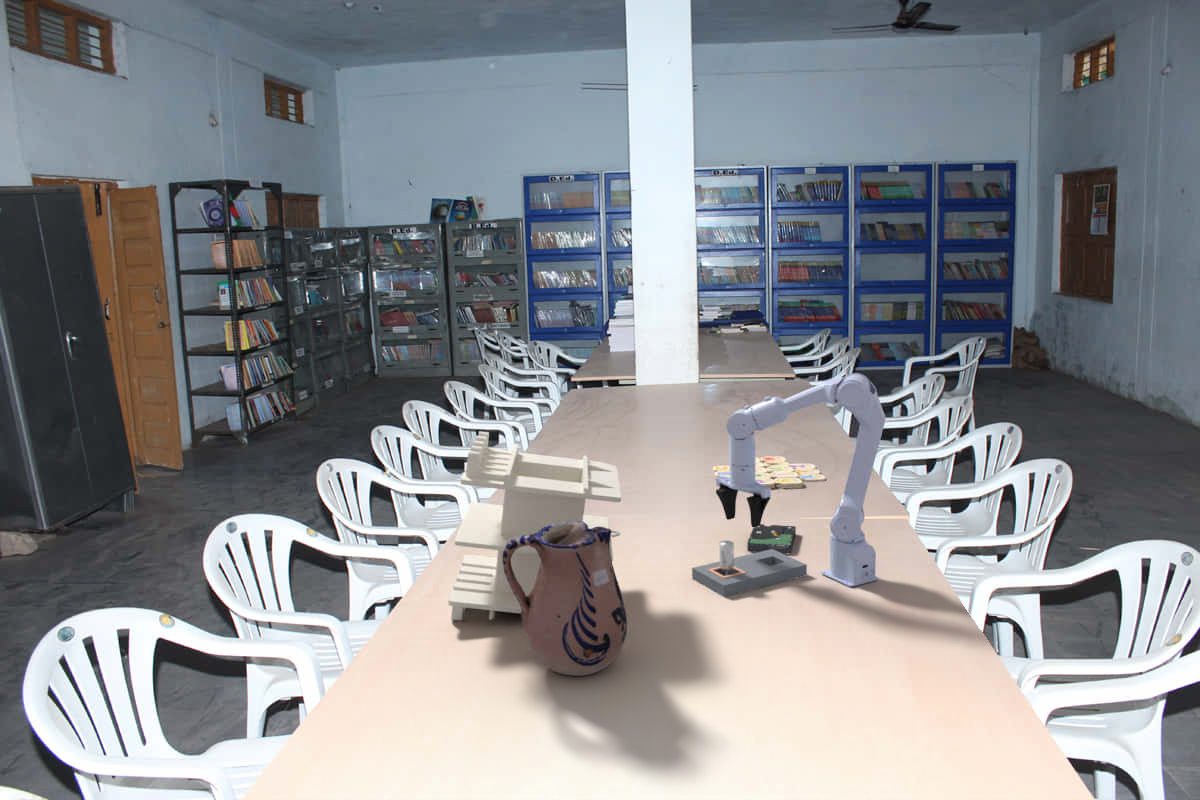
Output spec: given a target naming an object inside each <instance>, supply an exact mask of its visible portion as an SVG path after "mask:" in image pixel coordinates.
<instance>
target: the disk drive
mask: <svg viewBox="0 0 1200 800" xmlns="http://www.w3.org/2000/svg"><path fill="white" fill-rule="evenodd" d="M796 527H797V526H795V525H780V524H772V525H765V524H763V523H762V524H761V523H760V526H757V527H752V530H751V532H750V535H749V538H748V540H747V543H746V544H747V546H746V547H747V549H746V550H748V551H756V552H755V553H757V551H759V552H762V551H766V550H770V549H773V550H776V551H778V552H780V553H789V554H788V555H791V554H792V551H791V550H793V546H794V543H793V542H795V538H796V535H795V534H796ZM748 551H747V552H748ZM790 553H791V554H790Z"/></svg>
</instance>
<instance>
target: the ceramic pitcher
mask: <svg viewBox="0 0 1200 800" xmlns="http://www.w3.org/2000/svg"><path fill="white" fill-rule="evenodd" d="M612 531H613V530H611V528H610V529H609V528H605V527H594V528H592V529H588V525H587V524H586V523H585V522H583V521H566V522H562V523H556V524H550V525H548V526H545V527H543V528H541V529H540V530H539V531H538V532H537V533H535V534H531V535H528V534H526V535H521V536H517V537H515V538H514V539H512V540H510V541H509V542H508V543H507V545H506V547H505V549H504V551H503V555H502V557H503V568H504V572H505V575H506V578H507V580H508V582H509V584H510V586H511V589H512V591H513V592H514V595H515V596H516V598H517V600H518V602H519V604H520V606H521V613H520V615H521V616H520V621H521V625H522V626H523V628H524V629H525V631H526V632H527V636H528V637H527V638H528V640H529V643H530V646H531V648H532V650H533V652H534V654H535V656H536V657H537V658H538V660H539V661H540V662H541V663H542V664H543V665H544V666H545V667H547V668H548V669H550V670H552V672H553V671H554V672H555V673H556V672H557V673H558V674H562V675H565V676H566V675H567V676H573V677H575V676H576V677H582V676H589V675H592V674H596V673H597V672H600V671H602V670H603V669H605V668H606V667H607V666H609V665H610V664H612V662H614V661H615V660H616V658H617V656H618V655H619V653H620V652H621V650H622V649H623V646H624V644H625V641H626V638H627V631H628V622H627V620H628V619H627V612H626V607H625V603H624V599H623V596H622V595H623V594H622V592H621V588H620V585H619V582H618V580H617V576H616V572H615V568H614V565H613V561H611V554H610V546H609V543H610V535H612V533H613V532H612ZM611 532H612V533H611ZM527 545H529V546H531V547H533V548H535V549H536V551H537V552H538V554H539V557H540V558H541V564H540V567H539V571H538V573H537V577H536V581H535V584H534V587H533V589H532V591H531V593H530V594H529V596H526V595H525V593H524V591H523V589H522V587H521V585H520V584H519V583H518V581H517V579H516V577H515V574H514V572H513V570H512V566H511V557H512V554H513V553H514V551H515V550H516V549H518V548H520V547H522V546H527Z"/></svg>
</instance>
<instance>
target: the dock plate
mask: <svg viewBox="0 0 1200 800" xmlns="http://www.w3.org/2000/svg"><path fill="white" fill-rule="evenodd" d="M807 570H808V569H807V564H806V563H804V562H801V561H800V560H797V559H795V558H793V557H791V556H789V555H788V554H782V553H780V552H778V551H776V550H773V549H770V550H766V551H762V552H752V553H750V554H746V555H741V556H737V557H734V574H731V575H727V576H723V575H721V574H720V560H719V561H716V562H711V563H708V564H707V563H706V564H703V565H699V566H695V567H691V576H692V577H691V579H692V580H694V581H695V580H696V582H697V581H698V582H697V583H699V584H701V585H702V584H703V585H702V586H704V585H705V586H704V587H706V588H708V589H709V588H710V590H712V592H715V593H716V592H717V594H718V595H720V596H722V597H723V598H725V597H729V596H733V595H735V594H736V595H737V594H740V592H741V593H743V592H744V593H745V592H748V591H751V589H752V590H756V589H760V588H762V587H768V586H771V584H772V585H775V584H779V583H782V582H781V581H783V582H786V581H785V580H787V581H790V580H789V579H791V580H794V579H793V578H795V579H797V578H796V577H799V578H801V577H800V576H803V577H805V576H804V575H806V576H807V575H808V573H807ZM778 582H779V583H778ZM759 587H760V588H759ZM755 588H756V589H755ZM747 590H748V591H747ZM732 594H733V595H732Z"/></svg>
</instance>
